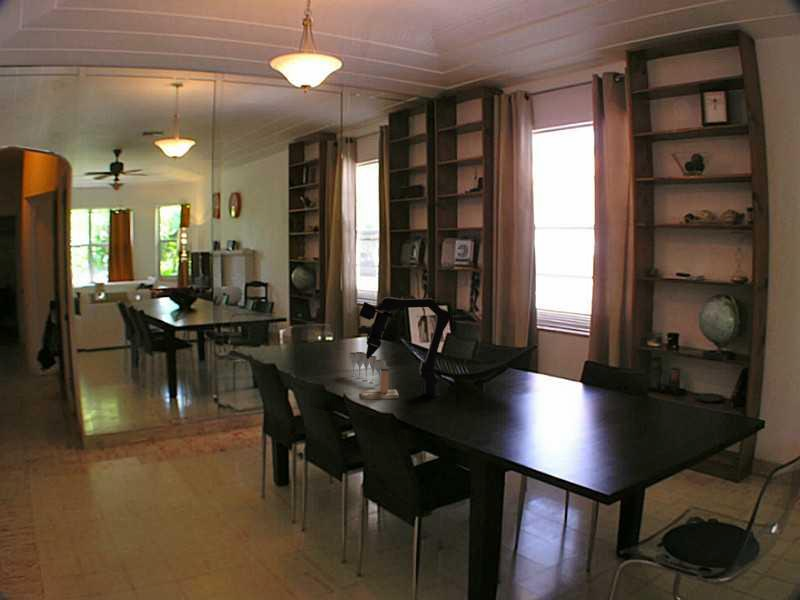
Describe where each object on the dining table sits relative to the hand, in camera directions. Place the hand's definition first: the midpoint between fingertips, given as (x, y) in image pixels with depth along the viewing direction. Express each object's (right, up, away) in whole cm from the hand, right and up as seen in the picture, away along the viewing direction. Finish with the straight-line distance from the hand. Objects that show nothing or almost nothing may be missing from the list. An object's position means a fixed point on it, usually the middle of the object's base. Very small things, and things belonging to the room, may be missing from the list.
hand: (367, 356), depth 270 cm
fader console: (+5, -18, 0) cm, 18 cm away
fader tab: (+7, -16, 0) cm, 17 cm away
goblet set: (-2, -15, +29) cm, 33 cm away
